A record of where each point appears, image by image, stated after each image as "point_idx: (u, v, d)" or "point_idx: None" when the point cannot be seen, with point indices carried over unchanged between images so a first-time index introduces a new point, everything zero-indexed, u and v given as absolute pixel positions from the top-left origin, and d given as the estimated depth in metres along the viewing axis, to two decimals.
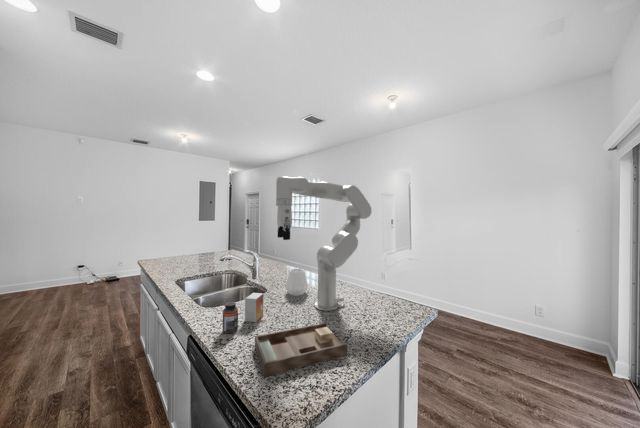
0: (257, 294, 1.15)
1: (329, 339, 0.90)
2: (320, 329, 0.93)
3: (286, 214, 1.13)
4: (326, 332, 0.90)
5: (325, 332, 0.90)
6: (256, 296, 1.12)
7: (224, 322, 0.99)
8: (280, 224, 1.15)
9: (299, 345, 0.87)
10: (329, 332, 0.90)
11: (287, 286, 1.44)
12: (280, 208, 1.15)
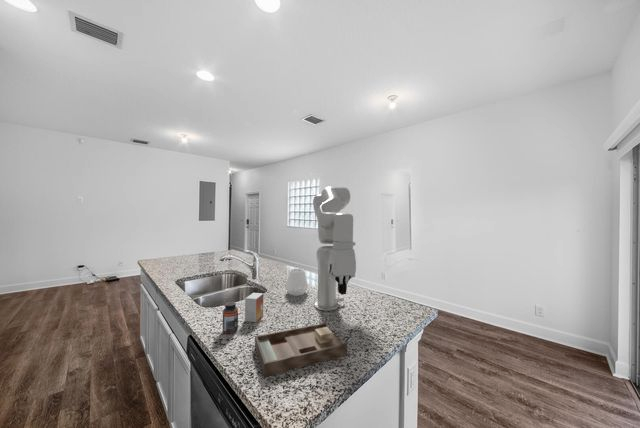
0: (257, 294, 1.15)
1: (329, 339, 0.90)
2: (320, 329, 0.93)
3: None
4: (326, 332, 0.90)
5: (325, 332, 0.90)
6: (256, 296, 1.12)
7: (224, 322, 0.99)
8: (349, 273, 0.93)
9: (299, 345, 0.87)
10: (329, 332, 0.90)
11: (287, 286, 1.44)
12: (351, 253, 0.93)
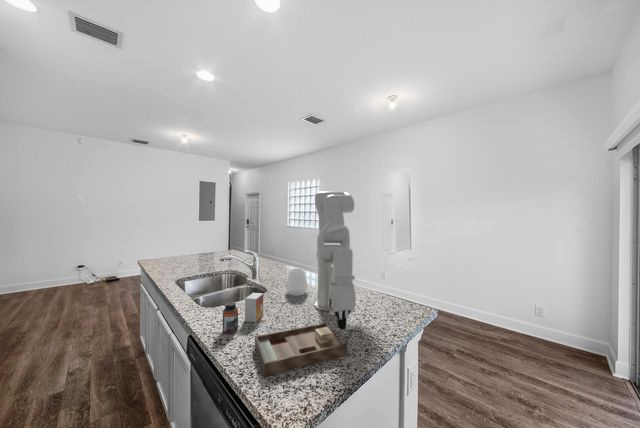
0: (257, 294, 1.15)
1: (329, 339, 0.90)
2: (320, 329, 0.93)
3: None
4: (326, 332, 0.90)
5: (325, 332, 0.90)
6: (256, 296, 1.12)
7: (224, 322, 0.99)
8: (348, 308, 0.93)
9: (299, 345, 0.87)
10: (329, 332, 0.90)
11: (287, 286, 1.44)
12: (350, 288, 0.93)
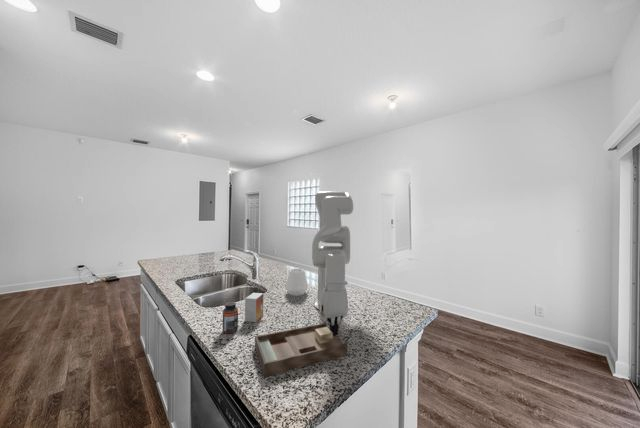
0: (257, 294, 1.15)
1: (329, 339, 0.90)
2: (320, 329, 0.93)
3: None
4: (326, 332, 0.90)
5: (325, 332, 0.90)
6: (256, 296, 1.12)
7: (224, 322, 0.99)
8: (340, 314, 0.92)
9: (299, 345, 0.87)
10: (329, 332, 0.90)
11: (287, 286, 1.44)
12: (342, 294, 0.92)
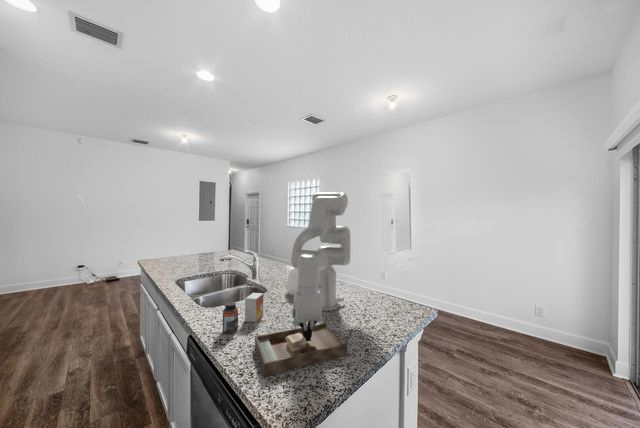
0: (257, 294, 1.15)
1: (302, 346, 0.85)
2: (292, 336, 0.87)
3: None
4: (298, 339, 0.85)
5: (298, 339, 0.85)
6: (256, 296, 1.12)
7: (224, 322, 0.99)
8: (314, 318, 0.87)
9: None
10: (302, 338, 0.86)
11: (287, 286, 1.44)
12: (316, 297, 0.87)
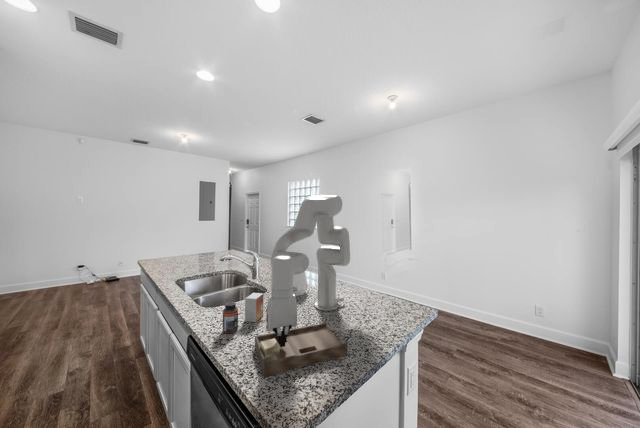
0: (257, 294, 1.15)
1: (275, 352, 0.81)
2: (266, 341, 0.83)
3: None
4: (272, 345, 0.81)
5: (271, 345, 0.81)
6: (256, 296, 1.12)
7: (224, 322, 0.99)
8: (288, 323, 0.83)
9: (299, 345, 0.87)
10: (276, 344, 0.82)
11: None
12: (290, 301, 0.83)
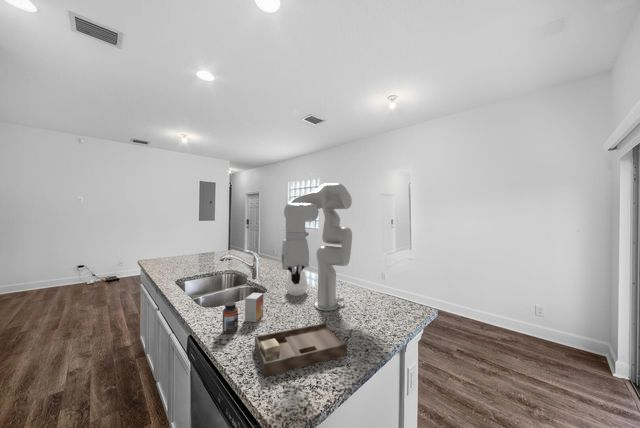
0: (257, 294, 1.15)
1: (275, 352, 0.81)
2: (266, 341, 0.83)
3: None
4: (272, 345, 0.81)
5: (271, 345, 0.81)
6: (256, 296, 1.12)
7: (224, 322, 0.99)
8: (301, 263, 0.94)
9: (299, 345, 0.87)
10: (276, 344, 0.82)
11: (287, 286, 1.44)
12: (303, 243, 0.93)
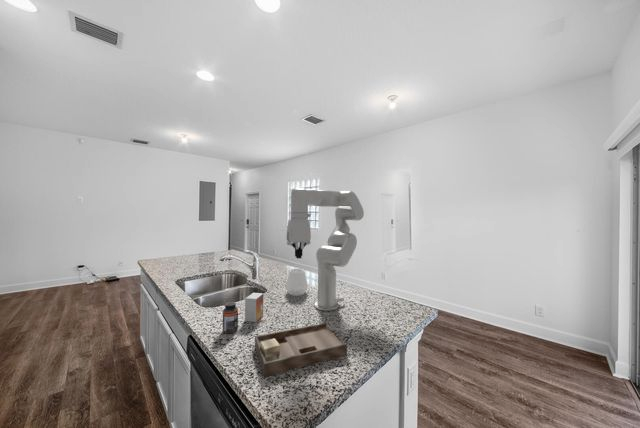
0: (257, 294, 1.15)
1: (275, 352, 0.81)
2: (266, 341, 0.83)
3: None
4: (272, 345, 0.81)
5: (271, 345, 0.81)
6: (256, 296, 1.12)
7: (224, 322, 0.99)
8: (304, 240, 1.08)
9: (299, 345, 0.87)
10: (276, 344, 0.82)
11: (287, 286, 1.44)
12: (305, 223, 1.07)
